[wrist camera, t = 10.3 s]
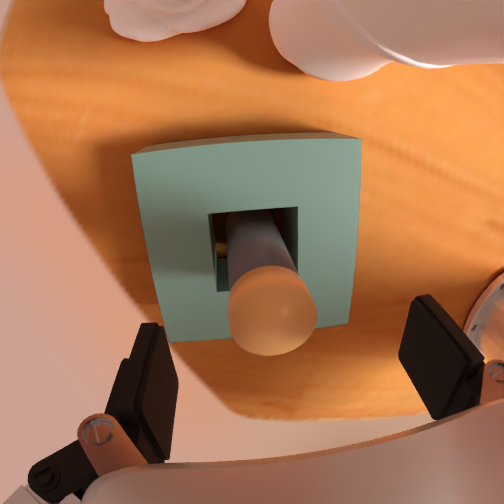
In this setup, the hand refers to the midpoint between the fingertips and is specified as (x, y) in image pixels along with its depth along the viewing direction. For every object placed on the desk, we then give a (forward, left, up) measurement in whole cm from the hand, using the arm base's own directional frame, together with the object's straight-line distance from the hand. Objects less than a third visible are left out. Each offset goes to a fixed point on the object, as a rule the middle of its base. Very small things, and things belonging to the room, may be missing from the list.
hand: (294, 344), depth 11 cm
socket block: (+1, 0, -12) cm, 12 cm away
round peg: (+1, 0, -12) cm, 12 cm away
